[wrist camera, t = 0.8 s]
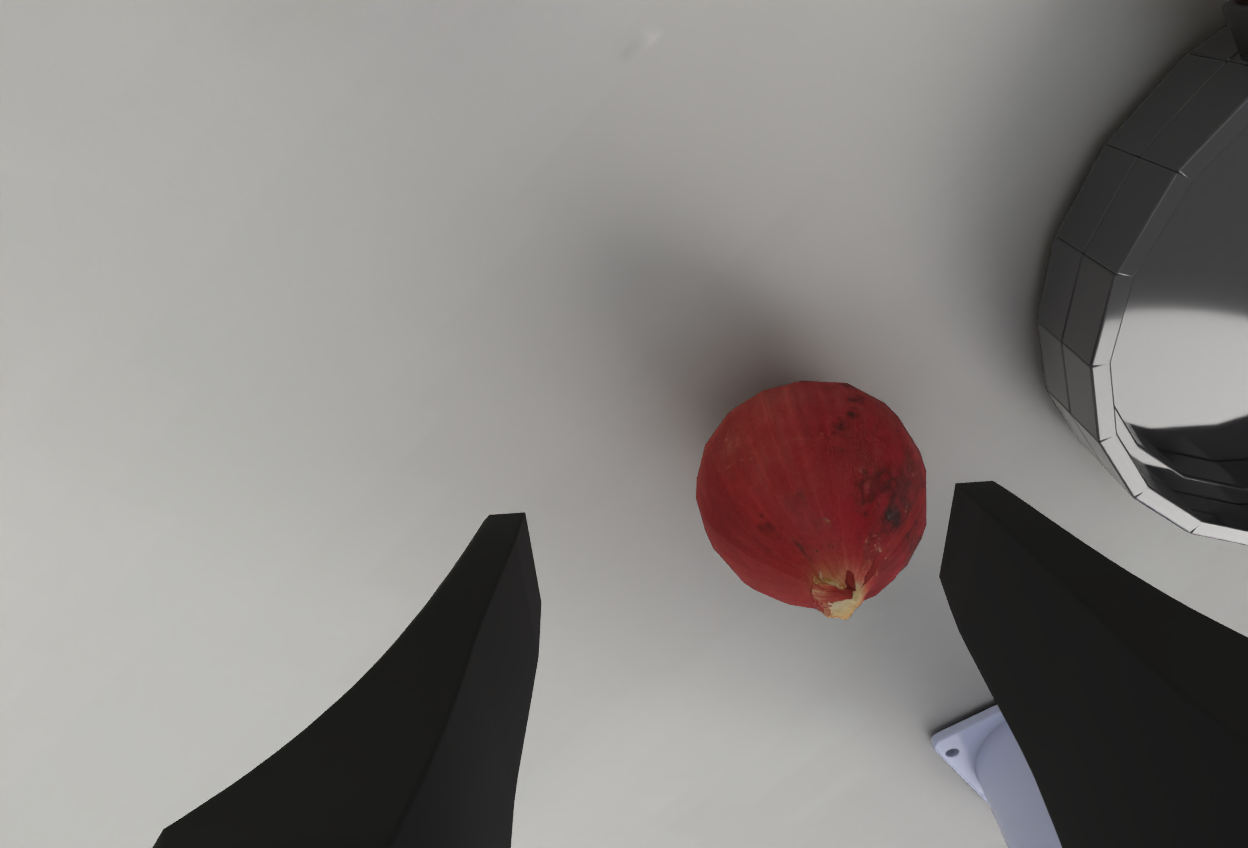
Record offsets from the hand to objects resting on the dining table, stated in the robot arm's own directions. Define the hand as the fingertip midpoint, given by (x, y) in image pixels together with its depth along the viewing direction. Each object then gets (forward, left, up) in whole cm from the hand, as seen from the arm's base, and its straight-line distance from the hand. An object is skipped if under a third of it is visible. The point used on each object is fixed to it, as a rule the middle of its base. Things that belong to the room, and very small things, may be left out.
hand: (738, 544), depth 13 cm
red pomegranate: (-5, 0, -10) cm, 11 cm away
